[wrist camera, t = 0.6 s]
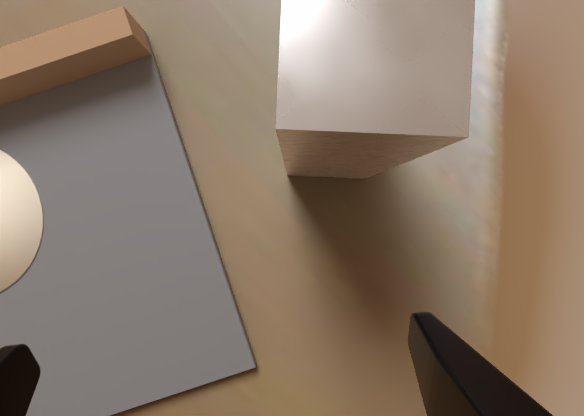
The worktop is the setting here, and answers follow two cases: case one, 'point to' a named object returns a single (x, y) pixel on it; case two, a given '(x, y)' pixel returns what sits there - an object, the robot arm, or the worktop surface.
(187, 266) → the corner arena
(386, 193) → the worktop surface
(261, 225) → the worktop surface
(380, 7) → the aluminium post
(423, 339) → the robot arm
